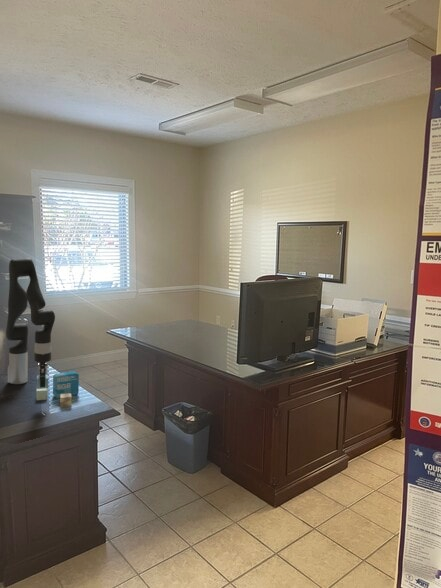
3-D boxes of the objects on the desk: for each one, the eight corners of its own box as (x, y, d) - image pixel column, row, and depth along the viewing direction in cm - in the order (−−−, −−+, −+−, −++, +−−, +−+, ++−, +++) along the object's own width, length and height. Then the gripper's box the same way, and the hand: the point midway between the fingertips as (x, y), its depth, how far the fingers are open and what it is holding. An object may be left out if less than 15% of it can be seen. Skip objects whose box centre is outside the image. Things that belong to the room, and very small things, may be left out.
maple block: (60, 407, 210) (60, 397, 209) (60, 403, 214) (60, 394, 213) (71, 406, 211) (71, 396, 211) (70, 402, 216) (70, 393, 215)
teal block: (36, 388, 205) (36, 378, 204) (37, 385, 210) (37, 375, 209) (48, 388, 207) (48, 378, 206) (48, 384, 211) (48, 374, 211)
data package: (55, 398, 219) (55, 376, 218) (52, 396, 223) (52, 373, 221) (78, 394, 227) (78, 373, 225) (75, 392, 230) (76, 370, 229)
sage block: (36, 400, 216) (36, 391, 216) (36, 396, 221) (36, 387, 220) (47, 399, 218) (47, 390, 217) (47, 396, 223) (47, 386, 222)
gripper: (34, 347, 211) (34, 380, 213) (33, 355, 198) (33, 390, 200) (51, 346, 214) (50, 379, 216) (51, 354, 201) (51, 389, 203)
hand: (42, 384), depth 208 cm, fingers closed on teal block, 5 cm apart
